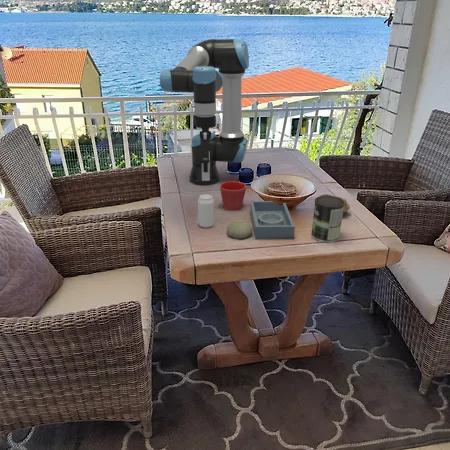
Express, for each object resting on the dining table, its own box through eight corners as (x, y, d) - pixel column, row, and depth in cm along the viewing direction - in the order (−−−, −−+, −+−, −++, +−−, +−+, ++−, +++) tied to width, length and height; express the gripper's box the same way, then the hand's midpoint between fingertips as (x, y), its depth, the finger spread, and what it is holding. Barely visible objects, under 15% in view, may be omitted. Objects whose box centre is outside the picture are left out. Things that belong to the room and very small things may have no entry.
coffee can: (312, 242, 145) (316, 205, 139) (310, 229, 154) (313, 194, 148) (341, 243, 144) (346, 207, 138) (337, 230, 153) (342, 196, 147)
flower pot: (243, 212, 168) (244, 190, 164) (217, 210, 170) (217, 188, 166) (247, 203, 177) (247, 182, 173) (222, 201, 179) (222, 180, 175)
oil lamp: (324, 203, 177) (326, 186, 174) (354, 214, 167) (357, 196, 164) (308, 209, 171) (310, 192, 168) (339, 221, 161) (341, 202, 157)
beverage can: (196, 228, 155) (195, 199, 150) (200, 221, 161) (199, 193, 155) (212, 229, 154) (212, 200, 149) (215, 222, 160) (215, 194, 154)
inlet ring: (256, 217, 162) (256, 212, 161) (281, 217, 162) (281, 212, 161) (259, 227, 153) (259, 223, 152) (285, 227, 153) (285, 222, 152)
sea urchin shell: (226, 223, 155) (241, 211, 151) (240, 237, 156) (256, 225, 153) (222, 234, 146) (238, 221, 143) (237, 249, 148) (253, 236, 145)
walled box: (250, 212, 168) (250, 201, 166) (283, 212, 169) (284, 201, 167) (255, 239, 147) (255, 226, 145) (293, 238, 147) (294, 226, 145)
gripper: (195, 108, 150) (197, 164, 159) (192, 122, 128) (194, 186, 137) (215, 108, 150) (216, 163, 160) (216, 122, 128) (216, 185, 137)
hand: (206, 174), depth 148 cm, fingers open, 13 cm apart
